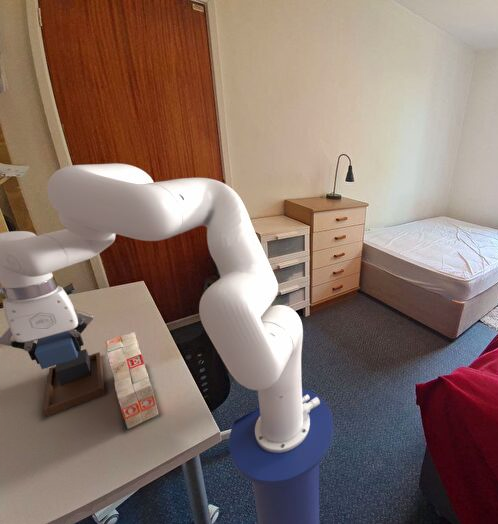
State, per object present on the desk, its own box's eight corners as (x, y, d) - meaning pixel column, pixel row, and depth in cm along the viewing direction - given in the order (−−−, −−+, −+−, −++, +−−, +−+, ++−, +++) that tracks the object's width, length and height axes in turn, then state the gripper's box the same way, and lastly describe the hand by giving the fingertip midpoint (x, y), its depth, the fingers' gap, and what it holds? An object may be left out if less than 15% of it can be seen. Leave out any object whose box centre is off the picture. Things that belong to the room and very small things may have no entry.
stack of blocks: (160, 414, 67) (148, 374, 63) (127, 430, 63) (112, 389, 59) (144, 366, 82) (134, 330, 77) (117, 376, 78) (104, 339, 73)
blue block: (77, 343, 72) (72, 329, 71) (77, 358, 67) (71, 342, 66) (44, 353, 68) (37, 338, 67) (41, 369, 64) (34, 353, 62)
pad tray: (101, 357, 84) (99, 351, 84) (105, 393, 72) (102, 387, 72) (51, 374, 78) (49, 368, 77) (46, 416, 66) (43, 410, 65)
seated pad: (90, 361, 82) (86, 348, 80) (91, 374, 77) (86, 362, 75) (62, 370, 78) (56, 357, 77) (61, 385, 73) (55, 372, 72)
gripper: (-37, 307, 53) (3, 380, 60) (85, 283, 64) (107, 347, 71) (-27, 293, 58) (9, 361, 65) (84, 273, 69) (105, 333, 76)
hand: (60, 353), depth 68 cm, fingers closed on blue block, 6 cm apart
